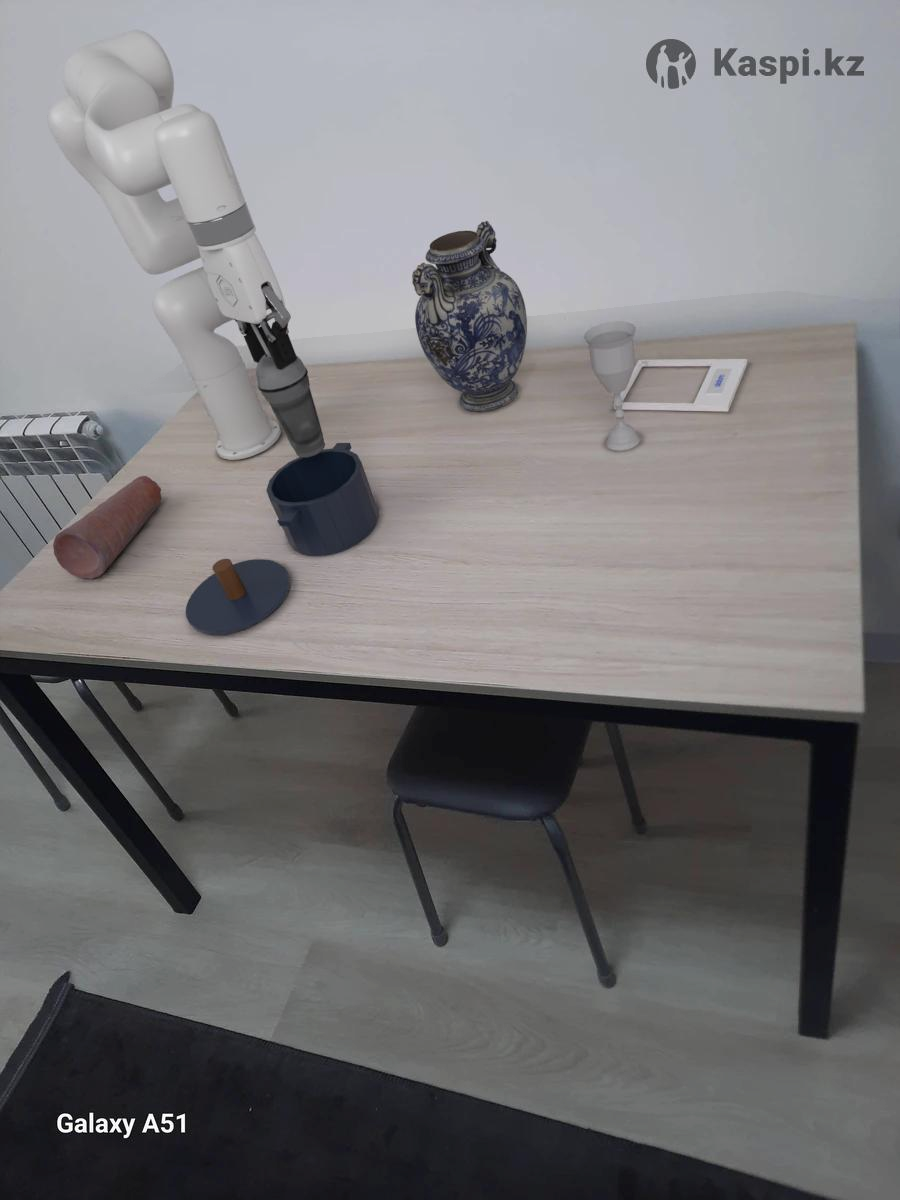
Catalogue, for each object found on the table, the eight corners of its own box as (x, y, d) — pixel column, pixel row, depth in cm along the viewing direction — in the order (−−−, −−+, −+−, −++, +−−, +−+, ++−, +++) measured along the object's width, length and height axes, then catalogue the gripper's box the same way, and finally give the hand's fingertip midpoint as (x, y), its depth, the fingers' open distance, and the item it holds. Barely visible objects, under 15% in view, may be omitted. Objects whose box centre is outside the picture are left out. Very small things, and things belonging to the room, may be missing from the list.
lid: (168, 633, 123) (147, 598, 118) (224, 562, 133) (206, 528, 129) (258, 642, 116) (239, 606, 112) (309, 567, 127) (293, 532, 122)
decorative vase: (479, 363, 164) (444, 213, 146) (563, 371, 153) (536, 211, 135) (413, 422, 152) (367, 267, 135) (499, 435, 142) (461, 269, 124)
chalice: (594, 453, 131) (578, 345, 120) (605, 429, 136) (590, 322, 124) (641, 454, 128) (629, 342, 117) (651, 429, 133) (640, 319, 121)
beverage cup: (326, 460, 123) (275, 329, 110) (280, 465, 125) (225, 337, 112) (340, 433, 128) (293, 305, 115) (296, 438, 130) (245, 313, 117)
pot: (264, 565, 130) (240, 515, 124) (322, 487, 143) (302, 439, 137) (347, 570, 124) (326, 518, 118) (399, 488, 137) (383, 438, 131)
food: (114, 579, 137) (86, 536, 131) (67, 580, 140) (38, 538, 134) (175, 499, 152) (152, 457, 146) (131, 502, 155) (107, 461, 149)
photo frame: (727, 405, 130) (613, 403, 139) (727, 411, 131) (614, 409, 139) (747, 357, 139) (638, 358, 148) (747, 364, 140) (639, 364, 148)
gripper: (164, 234, 110) (222, 364, 121) (234, 244, 99) (290, 385, 110) (212, 211, 113) (263, 339, 124) (284, 218, 102) (333, 358, 113)
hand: (275, 359), depth 117 cm, fingers closed on beverage cup, 4 cm apart
